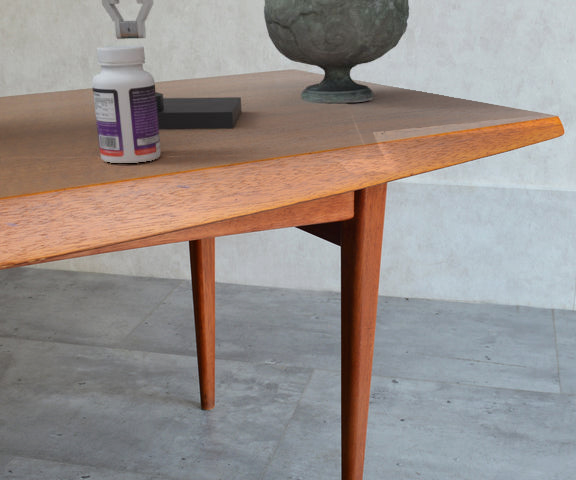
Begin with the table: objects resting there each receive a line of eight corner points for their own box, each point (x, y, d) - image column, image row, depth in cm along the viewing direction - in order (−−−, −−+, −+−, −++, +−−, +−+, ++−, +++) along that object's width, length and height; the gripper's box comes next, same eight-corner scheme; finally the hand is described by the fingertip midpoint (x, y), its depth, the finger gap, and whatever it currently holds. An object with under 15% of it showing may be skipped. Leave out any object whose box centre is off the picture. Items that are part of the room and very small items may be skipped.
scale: (105, 131, 81) (101, 98, 79) (130, 114, 92) (127, 85, 91) (232, 130, 80) (231, 97, 79) (241, 112, 92) (240, 83, 90)
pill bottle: (159, 151, 70) (150, 43, 66) (162, 163, 65) (153, 47, 61) (101, 154, 69) (89, 45, 65) (99, 167, 64) (86, 49, 60)
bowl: (359, 87, 115) (361, -17, 109) (433, 101, 98) (440, -20, 93) (242, 95, 107) (238, -16, 101) (301, 113, 91) (300, -19, 85)
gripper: (223, -104, 77) (229, 35, 82) (30, -100, 78) (48, 38, 83) (216, -112, 71) (224, 38, 76) (8, -107, 72) (29, 42, 77)
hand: (131, 38), depth 80 cm, fingers closed
